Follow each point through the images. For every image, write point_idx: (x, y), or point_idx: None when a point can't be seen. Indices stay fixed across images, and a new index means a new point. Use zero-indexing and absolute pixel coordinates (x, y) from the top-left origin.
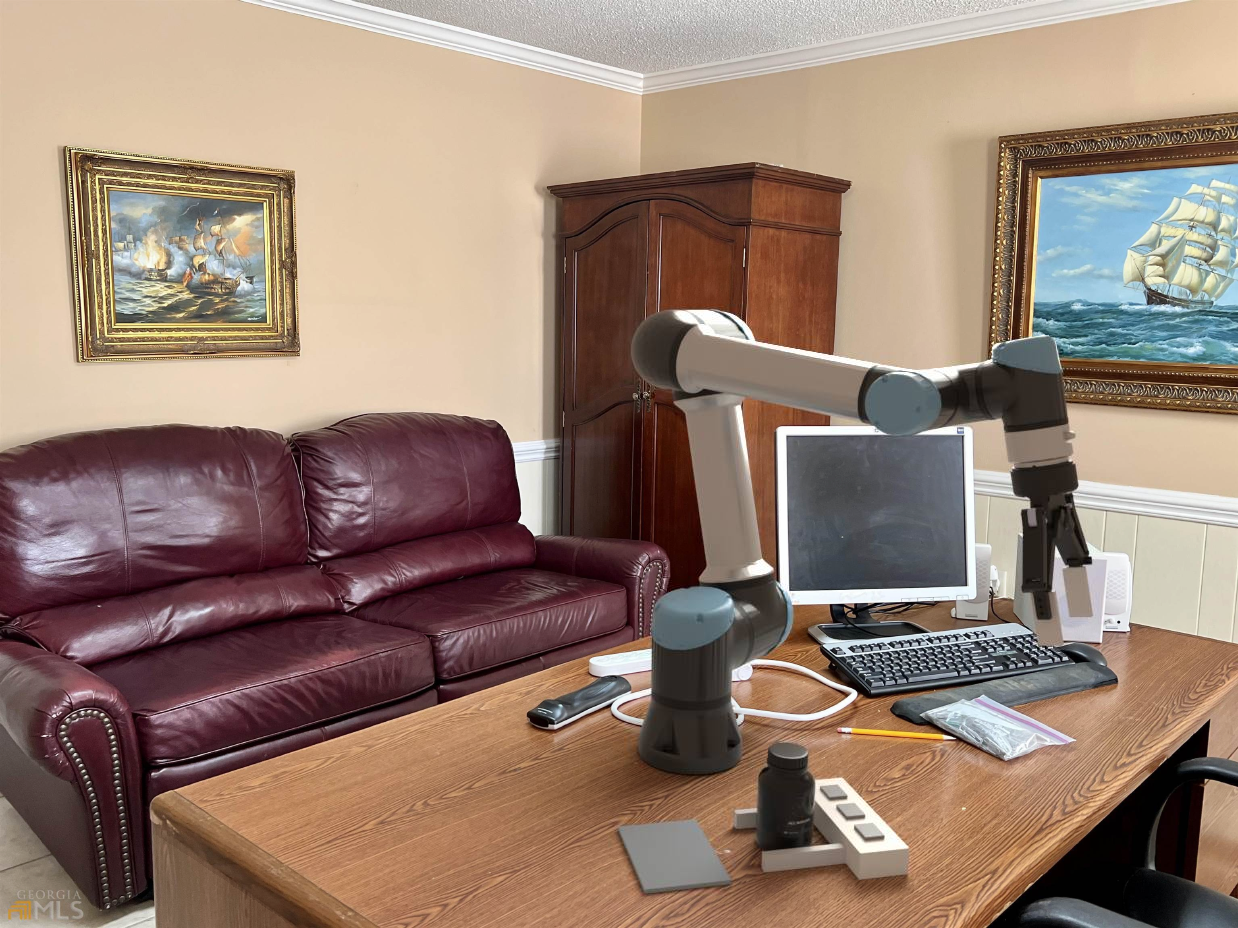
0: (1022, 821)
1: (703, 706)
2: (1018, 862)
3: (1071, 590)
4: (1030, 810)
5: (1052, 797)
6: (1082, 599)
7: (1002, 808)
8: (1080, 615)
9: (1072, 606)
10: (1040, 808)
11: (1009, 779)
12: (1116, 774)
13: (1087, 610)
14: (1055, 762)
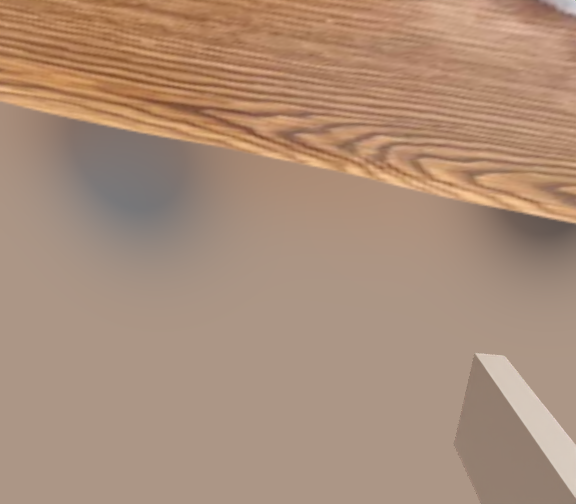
0: (203, 72)
1: None
2: (43, 98)
3: (528, 478)
4: (260, 76)
5: (344, 103)
6: (492, 483)
7: (234, 22)
8: (465, 406)
9: (490, 405)
10: (281, 92)
11: (388, 3)
12: (514, 192)
13: (467, 454)
14: (529, 78)
